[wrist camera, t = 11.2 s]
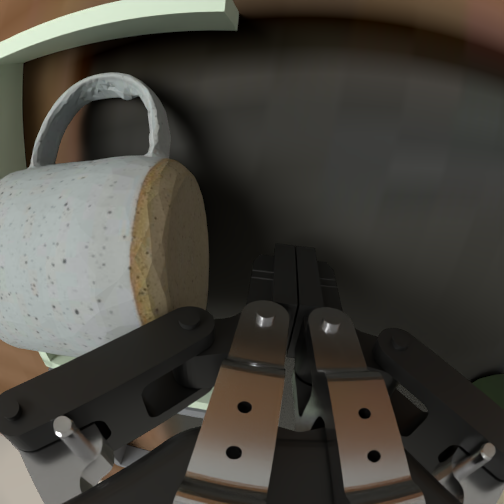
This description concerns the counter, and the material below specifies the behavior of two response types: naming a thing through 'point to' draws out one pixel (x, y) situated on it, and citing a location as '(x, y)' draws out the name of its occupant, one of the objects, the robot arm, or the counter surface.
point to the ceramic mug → (98, 234)
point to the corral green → (82, 33)
